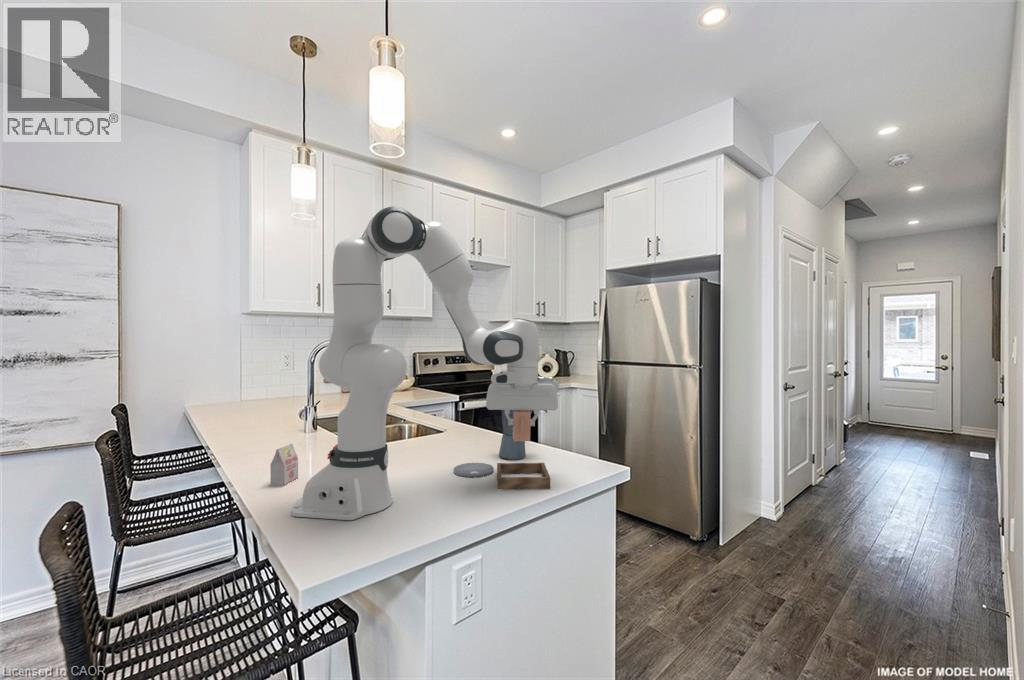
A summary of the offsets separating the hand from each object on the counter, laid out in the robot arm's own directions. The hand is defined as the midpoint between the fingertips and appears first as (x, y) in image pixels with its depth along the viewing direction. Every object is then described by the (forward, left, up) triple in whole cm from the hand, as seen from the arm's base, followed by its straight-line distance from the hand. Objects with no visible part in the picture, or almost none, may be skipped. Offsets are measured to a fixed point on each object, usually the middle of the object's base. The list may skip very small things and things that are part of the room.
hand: (521, 425), depth 126 cm
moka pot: (-2, +24, -16) cm, 29 cm away
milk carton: (-66, +1, -16) cm, 68 cm away
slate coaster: (-14, +9, -16) cm, 23 cm away
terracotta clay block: (0, 0, -4) cm, 4 cm away
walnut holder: (0, 0, -16) cm, 16 cm away
